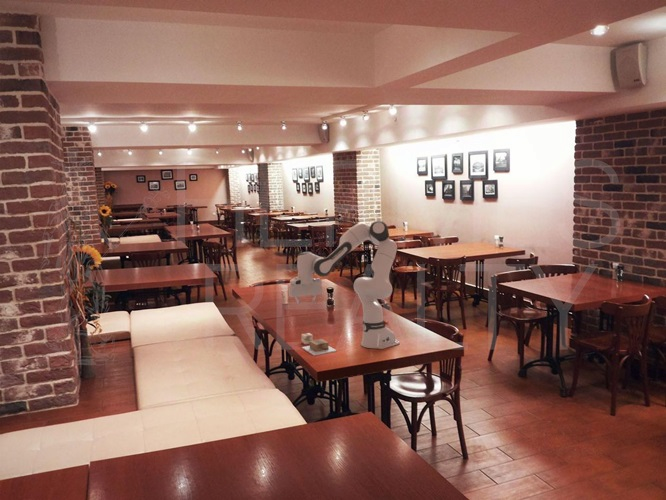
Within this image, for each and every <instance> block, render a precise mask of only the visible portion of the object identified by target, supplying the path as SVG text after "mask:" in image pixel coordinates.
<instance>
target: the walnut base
mask: <svg viewBox="0 0 666 500" xmlns="http://www.w3.org/2000/svg"><path fill="white" fill-rule="evenodd" d="M309 343H310V344H309V346H310V349H312V350H314V351H315V352H317V351H323V350H328V349H329V342H328V341H327V340H325V339H323V338H320V339H315V340H314V339H313V341H309Z"/></svg>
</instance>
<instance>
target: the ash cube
mask: <svg viewBox="0 0 666 500" xmlns="http://www.w3.org/2000/svg"><path fill="white" fill-rule="evenodd" d="M313 337H314V335H313V334H312V333H310V332H307V333H301V343H302V344H304V345H310V343H309V341H313V340H314V339H313Z"/></svg>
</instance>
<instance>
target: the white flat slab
mask: <svg viewBox="0 0 666 500" xmlns="http://www.w3.org/2000/svg"><path fill="white" fill-rule="evenodd" d="M301 349H303V350H305V351H306V352H308V353H309V354H310V355H312V356H314V357H315V356H318V355H319V356H320V355H325V354H330V353H336V352H338V350H337V349H335V348H333V347H331V346H329V349H328V350H323V351H317V352H315V351H314V350H312V349H310V345H305V346H302V347H301Z"/></svg>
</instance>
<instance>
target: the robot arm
mask: <svg viewBox="0 0 666 500" xmlns="http://www.w3.org/2000/svg"><path fill="white" fill-rule="evenodd" d="M389 232H390V231H389V228H388V225H387V224H386V223H385V222H384V221H382V220H375V221H374V222H372V224H371V225H368V223H366V222H364V221H362V222H361V221H360V222H359V223H356V224H355V225H353V226H352V227H350V228H349V229H348V230H346V231H345V232H344V233H343V234H342V235H341V236H340V238H339V244H338V246H337V248H336V249H334V250H333V251H332V252H331V253H330V254H329V255H328V256H327V257H323V256H319V255H317V254H314V253H312V252H311V251H303V252H300V253H299V254H298V255H297V258H296V259H297V261H296V264H297V265H296V268H297V276H296V277H294V278H291V279H290V280H289V283H290V284H289V286H288V296H289V297H290V298H294V299H295V301H296V304H297V305H301V301H300V300H299V297H307V296H313V297H312V298H311V303H315V302H316V298H317V295H321V294H322V293H323V287H322V282H323V281H322V279H320V278H319V277H324V278H325V277H327V276H328V275H330V274H331V272H332V271H333V269H334V267H335V266H336V265H337V264H338V263H339V262H340V261H341V260H342V259H344V258H345V257H346V256H347V255H348V254H349V253H351V251H353V250H355V249H356V248H357V247H358V246H360V245H361V244H362V243H364V242H365V241H367V242H368V243H370V244H372V245H374V246H375V247H377V250H376V253H375V255H374V256H373V260H372V262H371V266H370V267H371V269H372V271H373V277H369V276H368V277H367V276H363V277H362V276H361V277H357V278H356V279H355V280H354V282H353V290H354V292H355V293H356V294H357V296H358V297H359V300H360V302H361V306H362V315H363V317H362V318H363V320H362V339H361V344H360V345H361V347H363V348H368V349H379V350H382V349H387V348H390V347H393V346H397V345H400V340H398V339H396V334H395V332H394V331H393V330H391V329H390V328H388V327H387V326H388V325H389V323H390V321H387V320H384V319H383V318H384V317H383V312H384V311H383V307H382V305H381V304H380V302H379V300H380V299H382V300H383V299H389V298H390V296H392V293H393V286H392V284H391V281H390V272H391V268H392V265H394V261H395V259H396V254H397V250H398V244H397V243H396V241H394V240H393V239H390V234H389ZM314 273H315V274H316V275H317V276H318V277H317V278H314V275H313V274H314ZM378 299H379V300H378ZM386 325H387V326H386Z"/></svg>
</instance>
